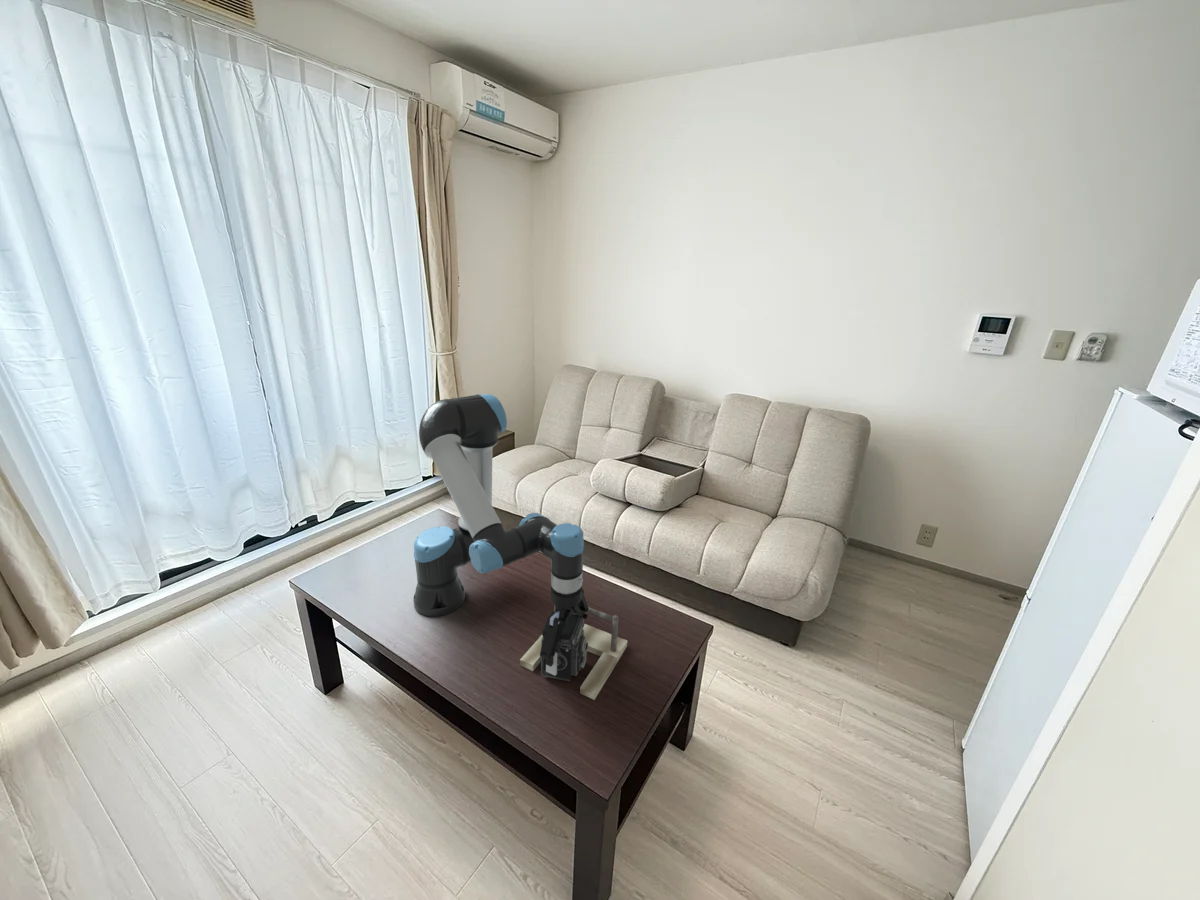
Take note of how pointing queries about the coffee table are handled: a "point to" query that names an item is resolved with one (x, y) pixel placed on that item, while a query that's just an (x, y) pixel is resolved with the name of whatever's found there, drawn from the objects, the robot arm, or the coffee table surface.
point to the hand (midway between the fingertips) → (565, 654)
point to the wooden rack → (598, 644)
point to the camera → (568, 649)
